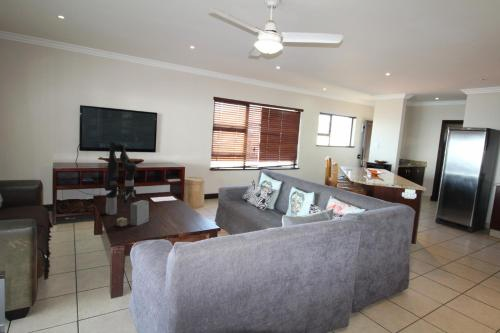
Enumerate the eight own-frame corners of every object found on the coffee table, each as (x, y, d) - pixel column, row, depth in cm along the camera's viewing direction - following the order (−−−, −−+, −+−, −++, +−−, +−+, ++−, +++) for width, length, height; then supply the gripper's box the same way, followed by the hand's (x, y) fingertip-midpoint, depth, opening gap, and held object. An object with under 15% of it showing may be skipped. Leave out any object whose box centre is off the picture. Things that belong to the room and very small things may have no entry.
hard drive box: (142, 219, 277) (142, 199, 274) (148, 221, 274) (149, 201, 271) (130, 224, 263) (130, 203, 260) (136, 226, 260) (137, 204, 257)
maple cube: (117, 225, 259) (117, 219, 258) (122, 223, 264) (122, 217, 263) (121, 226, 256) (121, 220, 255) (127, 224, 261) (127, 218, 261)
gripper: (132, 182, 266) (132, 199, 268) (119, 185, 253) (119, 203, 255) (138, 184, 263) (138, 201, 265) (126, 186, 250) (126, 204, 252)
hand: (129, 202), depth 260 cm, fingers open, 8 cm apart
